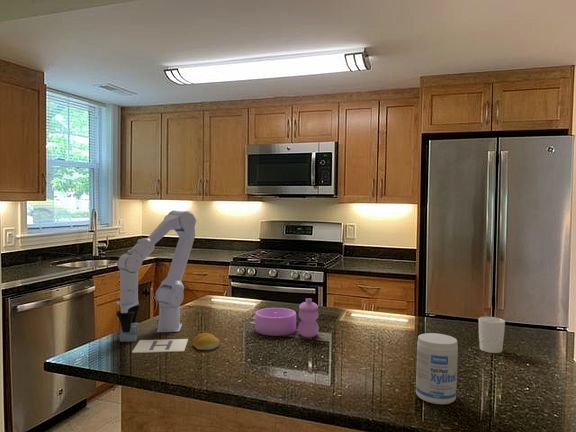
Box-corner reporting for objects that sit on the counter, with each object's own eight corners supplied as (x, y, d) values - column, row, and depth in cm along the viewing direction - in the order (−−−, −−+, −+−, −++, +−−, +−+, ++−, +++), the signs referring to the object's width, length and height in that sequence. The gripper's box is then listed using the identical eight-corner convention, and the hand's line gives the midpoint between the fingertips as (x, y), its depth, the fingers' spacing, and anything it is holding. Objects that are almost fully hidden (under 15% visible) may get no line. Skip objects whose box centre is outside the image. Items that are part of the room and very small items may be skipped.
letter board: (139, 341, 151) (139, 340, 151) (188, 339, 153) (188, 338, 153) (131, 353, 139) (131, 352, 139) (184, 351, 141) (184, 350, 141)
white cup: (483, 344, 152) (484, 315, 151) (507, 350, 146) (508, 319, 146) (473, 349, 146) (474, 319, 146) (498, 355, 140) (499, 324, 140)
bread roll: (198, 352, 141) (198, 340, 141) (190, 344, 149) (190, 332, 149) (223, 348, 145) (223, 336, 145) (213, 340, 153) (214, 329, 153)
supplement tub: (434, 408, 104) (435, 346, 103) (407, 392, 112) (408, 334, 112) (465, 401, 108) (466, 341, 107) (437, 386, 116) (438, 330, 116)
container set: (246, 331, 164) (247, 296, 163) (268, 322, 177) (269, 289, 176) (308, 342, 151) (308, 304, 151) (326, 331, 165) (327, 296, 164)
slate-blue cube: (123, 337, 155) (123, 323, 155) (138, 337, 156) (138, 322, 156) (119, 341, 150) (119, 327, 150) (135, 341, 151) (135, 326, 151)
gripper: (122, 285, 159) (122, 323, 159) (111, 293, 145) (111, 335, 145) (142, 285, 160) (142, 323, 160) (133, 293, 145) (133, 335, 146)
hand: (128, 328), depth 153 cm, fingers open, 7 cm apart
